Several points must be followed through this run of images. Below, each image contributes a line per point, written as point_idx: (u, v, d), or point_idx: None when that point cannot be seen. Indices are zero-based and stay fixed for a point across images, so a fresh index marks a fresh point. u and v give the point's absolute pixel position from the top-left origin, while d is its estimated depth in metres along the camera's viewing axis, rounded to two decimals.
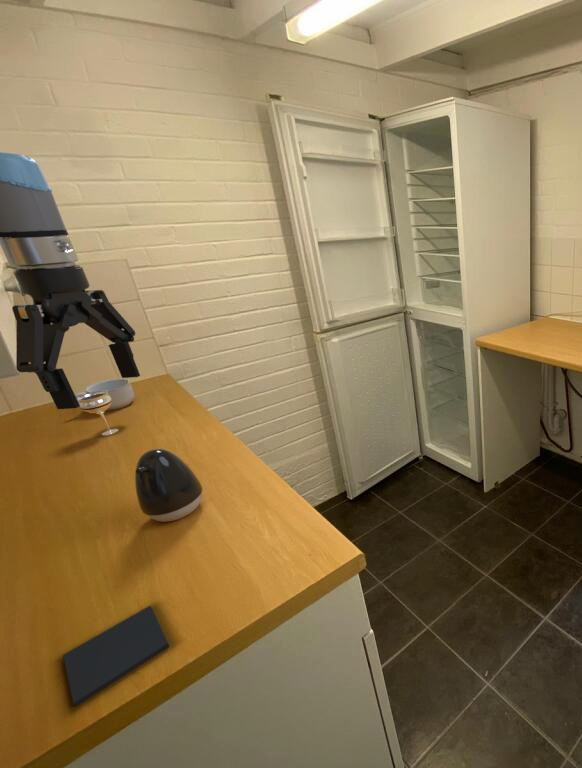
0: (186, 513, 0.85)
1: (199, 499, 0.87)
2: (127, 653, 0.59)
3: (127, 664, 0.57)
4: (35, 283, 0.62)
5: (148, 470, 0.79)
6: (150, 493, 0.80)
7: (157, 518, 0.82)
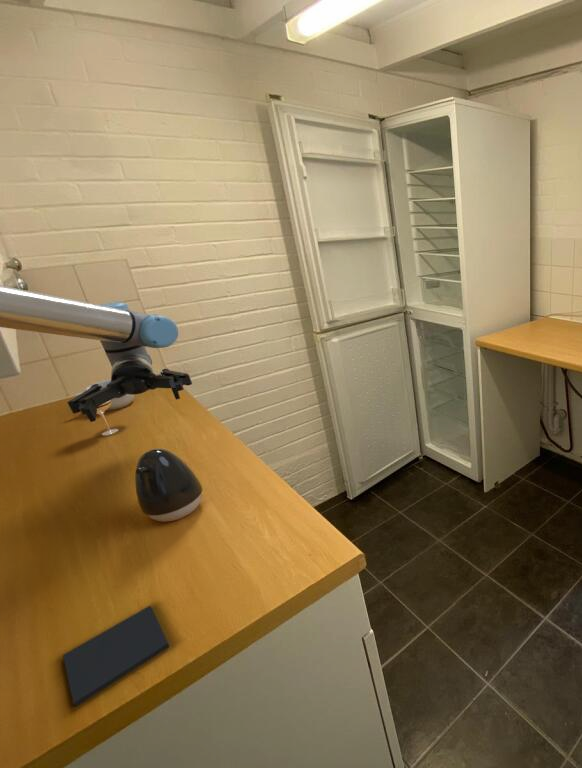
0: (186, 513, 0.85)
1: (199, 499, 0.87)
2: (127, 653, 0.59)
3: (127, 664, 0.57)
4: None
5: (148, 470, 0.79)
6: (150, 493, 0.80)
7: (157, 518, 0.82)
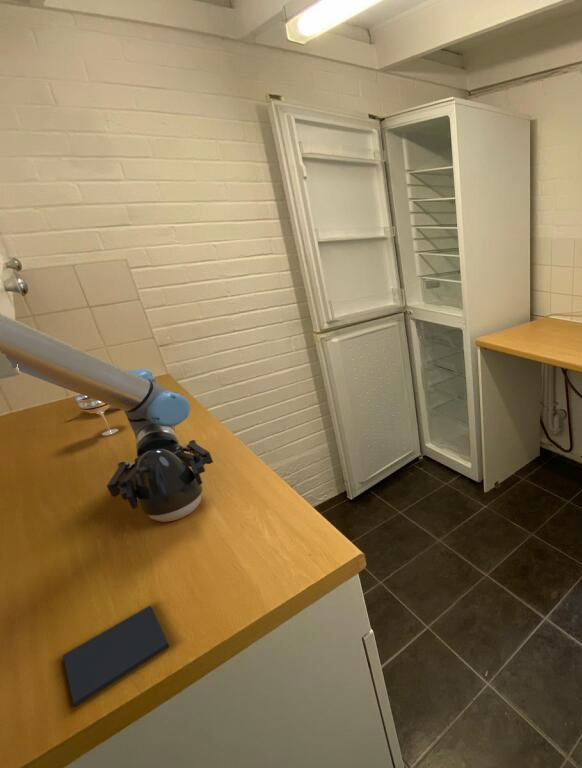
0: (186, 513, 0.85)
1: (199, 499, 0.87)
2: (127, 653, 0.59)
3: (127, 664, 0.57)
4: None
5: (148, 470, 0.79)
6: (150, 493, 0.80)
7: (157, 518, 0.82)
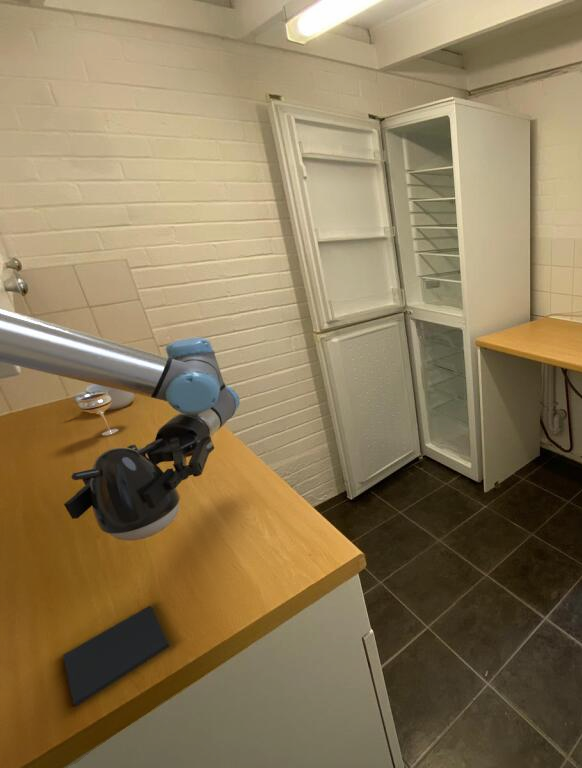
0: (140, 537, 0.65)
1: (163, 522, 0.67)
2: (127, 653, 0.59)
3: (127, 664, 0.57)
4: (205, 437, 0.81)
5: (91, 477, 0.61)
6: (95, 504, 0.62)
7: (109, 533, 0.65)
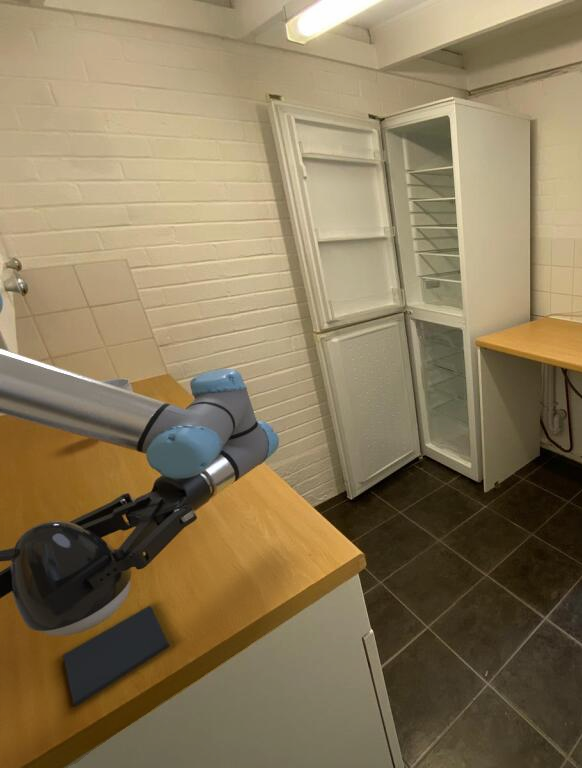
0: (61, 635, 0.52)
1: (87, 622, 0.53)
2: (127, 653, 0.59)
3: (127, 664, 0.57)
4: (201, 497, 0.66)
5: (2, 560, 0.49)
6: None
7: None
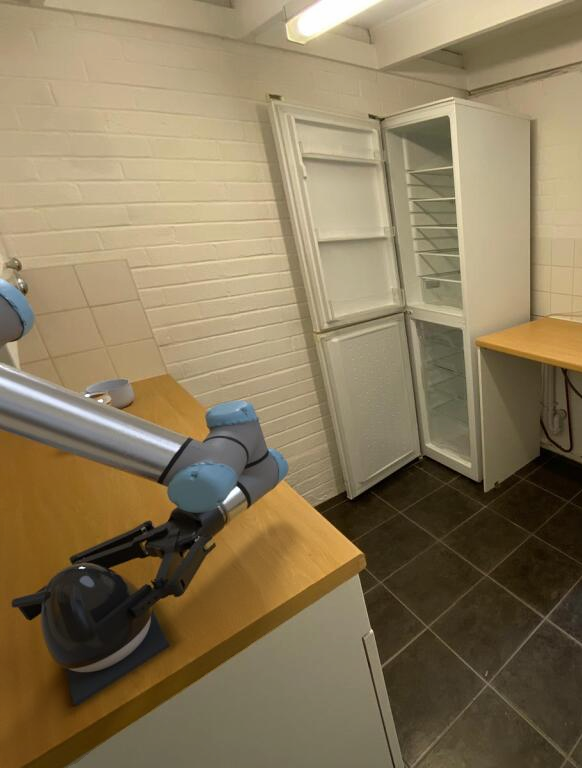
0: (87, 671, 0.55)
1: (112, 659, 0.56)
2: None
3: (127, 664, 0.57)
4: (215, 526, 0.69)
5: None
6: None
7: None
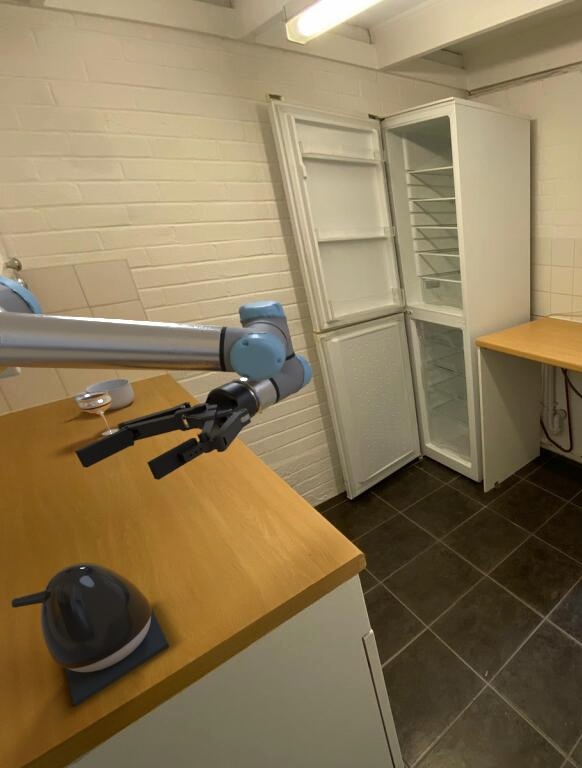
0: (87, 671, 0.55)
1: (112, 659, 0.56)
2: None
3: (127, 664, 0.57)
4: (249, 409, 0.74)
5: None
6: None
7: None
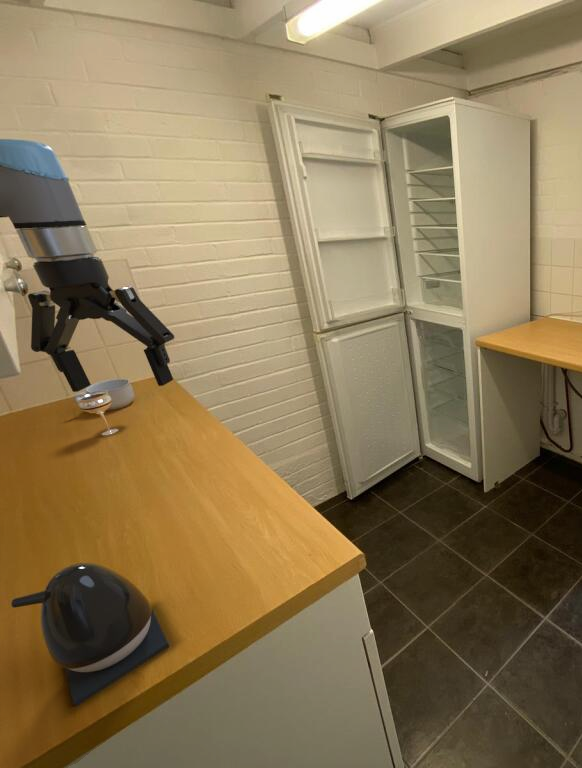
0: (87, 671, 0.55)
1: (112, 659, 0.56)
2: None
3: (127, 664, 0.57)
4: (101, 270, 0.65)
5: None
6: None
7: None
